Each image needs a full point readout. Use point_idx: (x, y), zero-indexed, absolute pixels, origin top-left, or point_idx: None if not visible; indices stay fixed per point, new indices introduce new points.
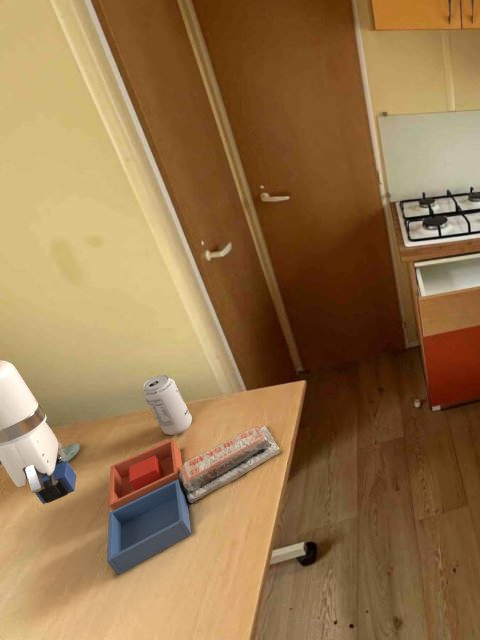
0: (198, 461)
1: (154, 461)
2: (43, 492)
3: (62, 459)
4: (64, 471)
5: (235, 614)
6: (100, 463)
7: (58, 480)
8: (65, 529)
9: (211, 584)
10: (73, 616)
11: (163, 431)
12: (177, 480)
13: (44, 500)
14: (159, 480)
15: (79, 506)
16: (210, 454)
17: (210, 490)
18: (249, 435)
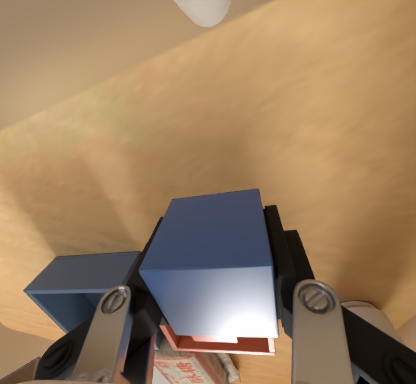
0: (182, 369)
1: (218, 341)
2: (128, 281)
3: None
4: (205, 334)
5: (12, 324)
6: (360, 204)
7: (163, 321)
8: (167, 175)
9: (38, 316)
10: (3, 220)
11: (351, 310)
12: (155, 349)
13: (155, 227)
14: (167, 336)
15: (223, 187)
16: (191, 376)
17: None
18: None
